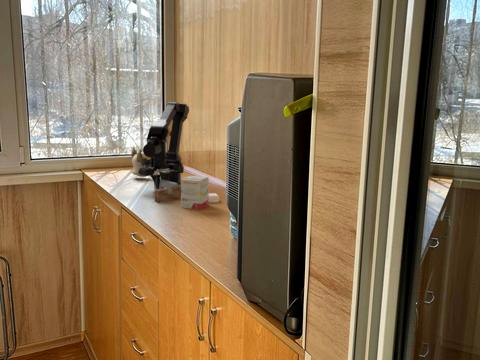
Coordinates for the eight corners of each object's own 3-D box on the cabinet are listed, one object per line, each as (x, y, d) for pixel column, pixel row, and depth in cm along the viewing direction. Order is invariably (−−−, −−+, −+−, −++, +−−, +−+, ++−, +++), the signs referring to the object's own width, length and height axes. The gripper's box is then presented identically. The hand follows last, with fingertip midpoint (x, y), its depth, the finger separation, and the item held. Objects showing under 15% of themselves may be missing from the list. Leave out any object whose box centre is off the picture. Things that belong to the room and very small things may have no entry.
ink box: (209, 205, 195) (209, 176, 192) (200, 210, 187) (200, 180, 184) (189, 203, 197) (189, 174, 195) (180, 208, 189) (180, 178, 187)
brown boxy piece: (180, 196, 208) (180, 184, 207) (184, 197, 206) (184, 185, 205) (154, 202, 197) (154, 190, 196) (158, 203, 196) (158, 191, 195)
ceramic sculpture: (153, 178, 241) (152, 148, 238) (136, 180, 236) (136, 149, 233) (144, 174, 249) (144, 145, 246) (128, 176, 245) (127, 146, 241)
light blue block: (158, 189, 219) (158, 178, 218) (177, 194, 211) (177, 183, 210) (154, 190, 217) (153, 179, 216) (173, 195, 209) (173, 184, 208)
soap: (197, 203, 197) (197, 196, 197) (195, 200, 203) (195, 193, 202) (219, 202, 200) (219, 195, 199) (216, 199, 205) (216, 192, 204)
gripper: (163, 149, 225) (164, 182, 228) (130, 153, 211) (131, 188, 215) (180, 152, 218) (180, 186, 221) (146, 157, 204) (147, 193, 208)
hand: (159, 188), depth 216 cm, fingers closed on light blue block, 2 cm apart
